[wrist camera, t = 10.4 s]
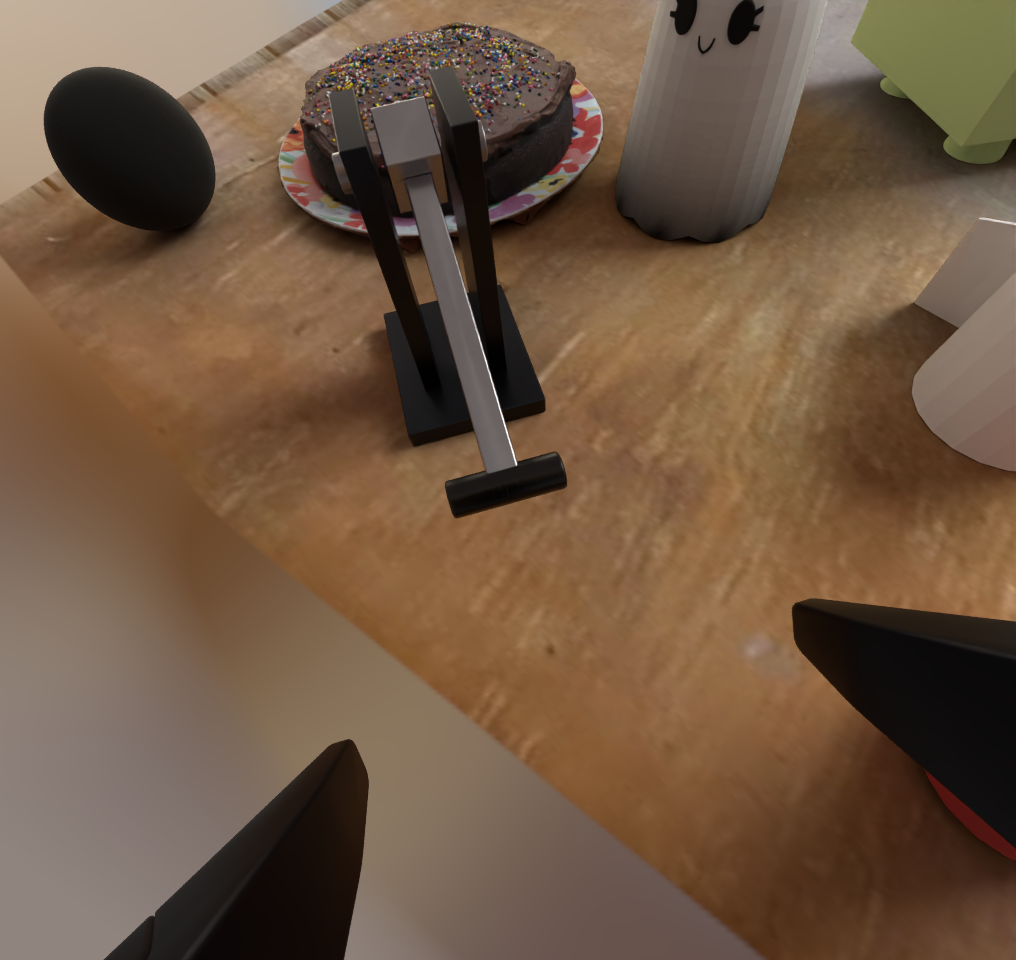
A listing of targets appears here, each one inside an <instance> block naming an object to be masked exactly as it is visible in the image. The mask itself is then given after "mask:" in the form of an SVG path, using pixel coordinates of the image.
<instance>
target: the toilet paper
mask: <svg viewBox="0 0 1016 960" xmlns="http://www.w3.org/2000/svg"><path fill="white" fill-rule="evenodd" d="M913 303H914V304H916V305H918V306H920V307H922V308H923V309H925V310H927V311H929V312H931V313H933V314H934V315H936V316H938V317H940V318H942V319H943V320H945V321H947V322H949V323H951V324H952V325H954V326H956V327H958V328H959V329H958V330H957V331H956V332H955V333H954V334H953V335H952V336H951V337H950V338H949V339H948V340H947V341H946V342H945V343H943V344H942V345H941V346H940V347H939V348H938V349H937V350H936V351H935V352H934V353H933V354H932V355H931V356H930V357H929V358H928V359H927V360H926V361H925V362H924V363H923V365H922V366H921V367H920V369H919V370H918V372H917V373H916V374H915V376H914V379H913V387H912V396H913V399H914V402H915V406H916V409H917V412H918V413H919V415H920V416H921V417H922V419H923V420H924V422H925V423H926V424H927V426H928V427H929V428H930V430H931V431H932V432H933V433H934V434H936V435H937V436H938V437H939V438H941V439H942V440H943V441H944V442H945V443H947V444H948V445H949V446H950V447H951V448H953V449H955V450H957V451H958V452H960V453H962V454H964V455H966V456H968V457H970V458H972V459H974V460H976V461H978V462H980V463H983V464H986V465H990V466H993V467H997V468H1000V469H1004V470H1007V471H1016V223H1012V222H1006V221H1000V220H994V219H988V218H982V217H980V218H979V219H978V220H977V221H976V223H975V224H974V225H973V227H972V228H971V229H970V230H969V232H968V233H967V234H966V236H965V237H964V238H963V239H962V241H961V242H960V243H959V245H958V246H957V247H956V248H955V250H954V251H953V252H952V254H951V255H950V256H949V257H948V259H947V260H946V261H945V263H944V264H943V265H942V266H941V268H940V269H939V270H938V272H937V273H936V274H935V275H934V277H933V278H932V279H931V281H930V282H929V283H928V284H927V286H926V287H925V288H924V290H923V291H922V292H921V293H920V295H919V296H918V297H917V299H916V300H915V301H914V302H913Z"/></svg>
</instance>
